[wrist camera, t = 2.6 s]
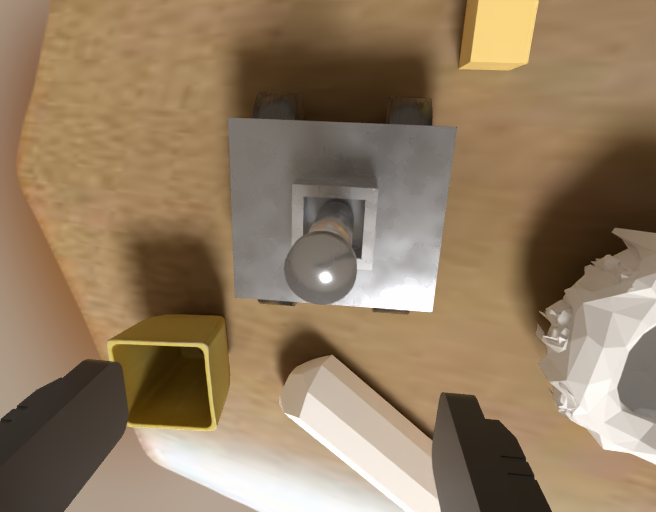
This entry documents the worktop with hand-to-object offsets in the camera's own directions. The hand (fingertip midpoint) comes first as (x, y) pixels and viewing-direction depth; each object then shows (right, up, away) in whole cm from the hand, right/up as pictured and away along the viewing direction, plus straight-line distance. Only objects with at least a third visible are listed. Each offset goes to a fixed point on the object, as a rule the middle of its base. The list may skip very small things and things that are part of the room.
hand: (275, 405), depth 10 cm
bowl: (+30, -2, +28) cm, 41 cm away
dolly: (+3, +9, +27) cm, 28 cm away
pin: (+2, +6, +20) cm, 21 cm away
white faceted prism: (+6, -15, +35) cm, 38 cm away
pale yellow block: (+14, +21, +22) cm, 33 cm away
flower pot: (-12, -5, +33) cm, 35 cm away
